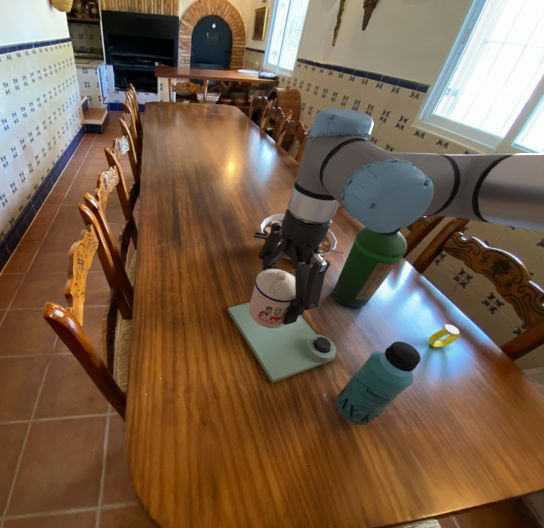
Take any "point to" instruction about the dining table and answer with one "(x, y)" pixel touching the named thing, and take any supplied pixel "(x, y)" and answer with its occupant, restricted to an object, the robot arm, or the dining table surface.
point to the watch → (445, 331)
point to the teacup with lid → (272, 297)
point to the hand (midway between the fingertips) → (275, 305)
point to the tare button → (322, 344)
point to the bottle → (368, 265)
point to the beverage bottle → (378, 383)
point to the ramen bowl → (324, 247)
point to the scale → (281, 345)
